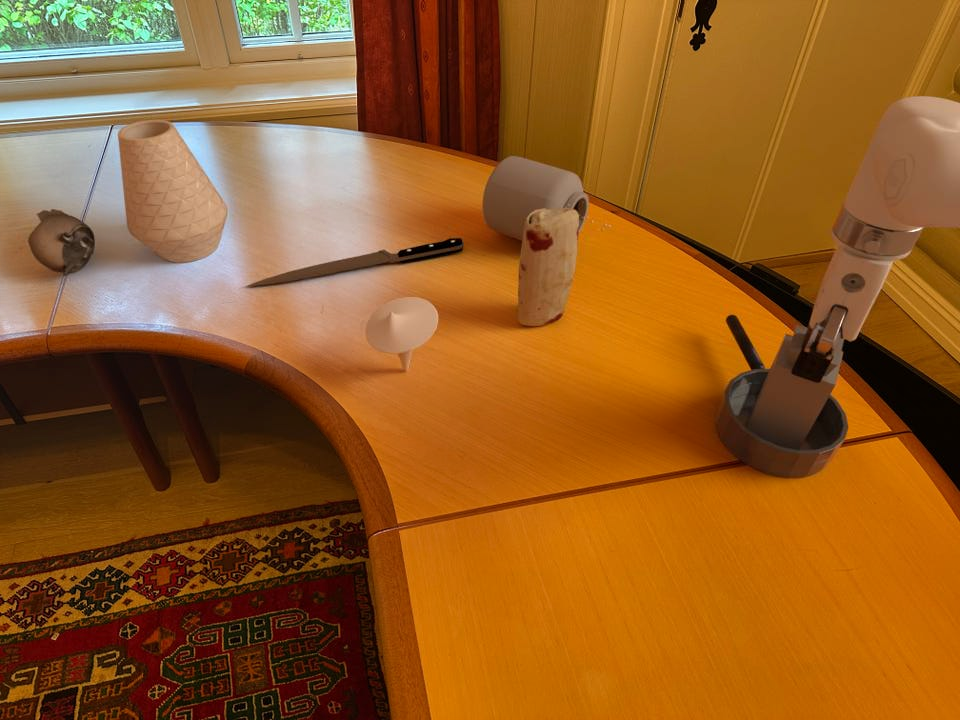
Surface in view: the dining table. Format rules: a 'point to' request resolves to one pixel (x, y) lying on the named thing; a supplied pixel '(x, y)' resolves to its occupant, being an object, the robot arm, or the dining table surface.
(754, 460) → the pan
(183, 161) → the vase
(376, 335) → the white spinning top
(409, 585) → the dining table surface
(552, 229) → the food model
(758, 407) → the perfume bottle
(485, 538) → the dining table surface
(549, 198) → the jar
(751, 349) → the pan handle
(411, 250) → the steak knife
